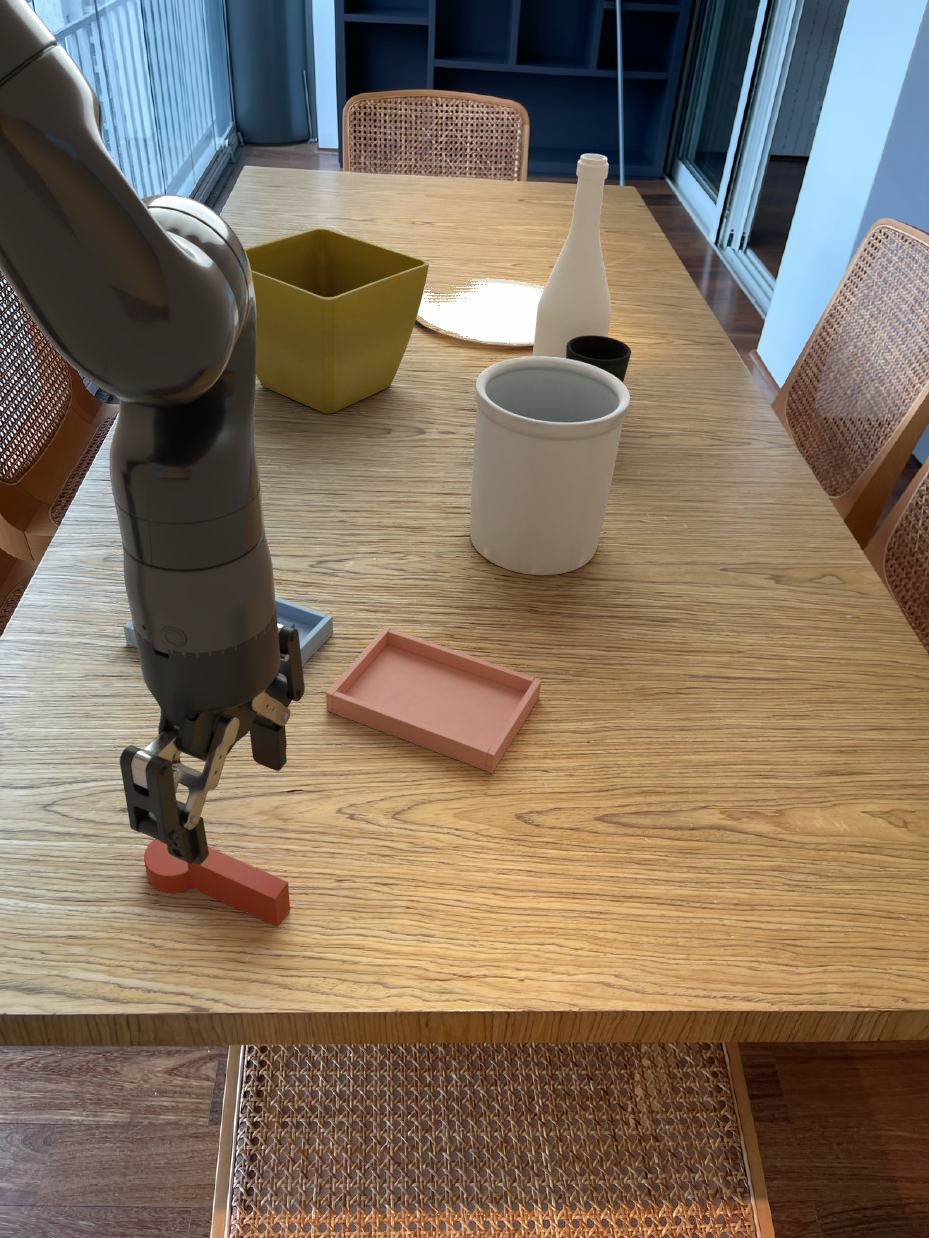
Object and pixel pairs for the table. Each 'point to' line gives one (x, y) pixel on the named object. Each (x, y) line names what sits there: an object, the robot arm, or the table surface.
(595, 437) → the utensil holder
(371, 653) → the tray pink
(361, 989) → the table surface
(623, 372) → the cup
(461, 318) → the plate
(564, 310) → the wine bottle
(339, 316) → the flower pot
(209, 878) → the spoon red
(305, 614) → the tray blue
